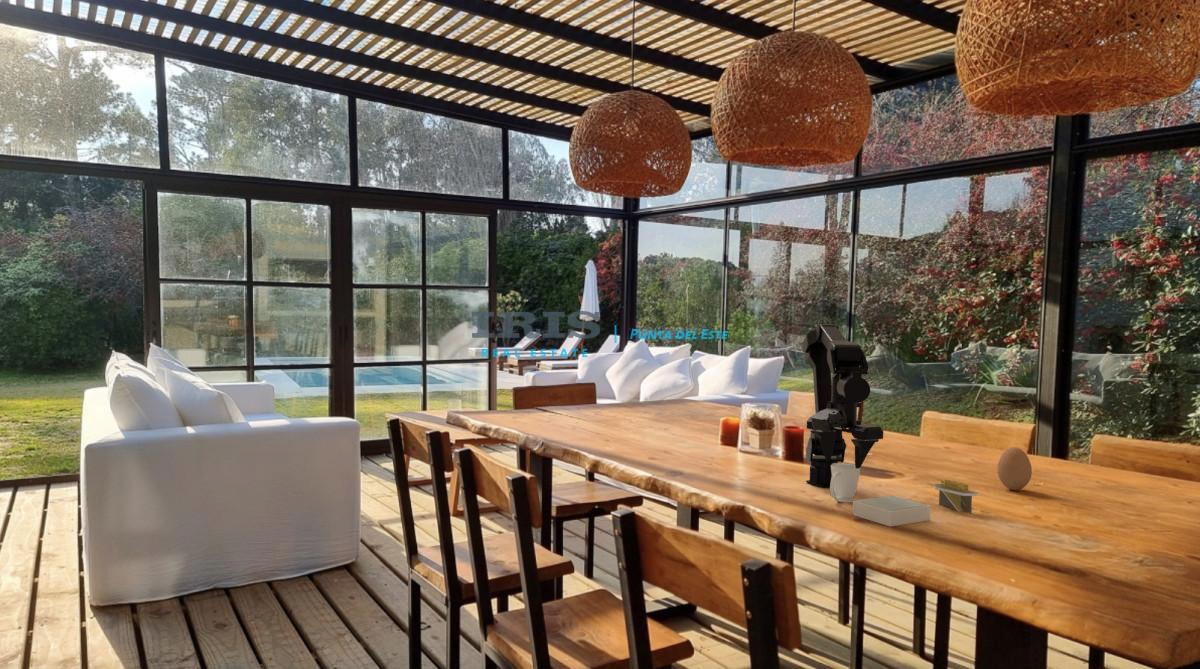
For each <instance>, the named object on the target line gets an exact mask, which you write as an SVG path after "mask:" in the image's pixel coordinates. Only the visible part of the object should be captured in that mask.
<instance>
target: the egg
mask: <svg viewBox="0 0 1200 669" xmlns="http://www.w3.org/2000/svg"><path fill="white" fill-rule="evenodd" d="M996 469H997V476H998V478H999V481H1000V482H1001V483H1002V485H1003V486H1004V487H1005V488H1007V489H1009V490H1011V491H1020V490H1022V489H1024V488H1025V487H1027V485H1028V484H1029V483H1030V482H1031V480H1032V475H1033V474H1032V473H1033V472H1032V471H1033V470H1032V463H1031V461H1030V459H1029V456H1028V455H1027V453H1026V452H1025V451H1024V450H1023V449H1021V448H1019V447H1016V446H1013V447H1009V448H1008V449H1005V450H1004V451H1003V453H1001V456H1000V458H999V459H998V462H997V468H996Z"/></svg>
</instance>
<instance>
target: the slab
mask: <svg viewBox="0 0 1200 669" xmlns="http://www.w3.org/2000/svg"><path fill="white" fill-rule="evenodd" d="M852 516H855V517H859V518H862V519H865V520H868V521H871V522H874V523H878V524H881V525H883V526H887V527H894V526H901V525H907V524H914V523H920V522H927V521H930V520H931V505H929V504H924V503H921V502H917V501H913V500H910V499H906V498H903V497H899V496H895V495H887V496H878V497H871V498H864V499H857V500H854V501H853V502H852Z"/></svg>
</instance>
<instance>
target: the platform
mask: <svg viewBox="0 0 1200 669" xmlns="http://www.w3.org/2000/svg"><path fill="white" fill-rule="evenodd" d="M940 482H941V483H935V484H934V489H935V490H937V491H939V493H938V494H939V496H938V498H939V499H938V506H942V507H945V508H950V509H954V510H956V511H957V512H959V513H962V512H966V513H969V514H972V508H973V507H972V506H973V505H972V503H973V502H972V501H973V499H972V498H973V497H975V496H979V492H978V491H973V490H969V484H966V483H963V482H959V481H958V482H957V481H953V480H949V479H944V480H940Z"/></svg>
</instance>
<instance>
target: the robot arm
mask: <svg viewBox="0 0 1200 669" xmlns="http://www.w3.org/2000/svg"><path fill="white" fill-rule="evenodd" d="M839 329H840V328H839V326H838V325H836V324H832V323H831V324H830V323H829V324H828V323H827V324H826V323H821V324H818V325H816V327H815V329H813V330H811V331H810V332H807V333H806V335H805V337H804V340H803V343H802V351H803V353H804V354H805V361H806V363H807V364H808V365H809V366H810V368H811V369H812V376H813V394H814V395H813V396H814V409H815V410H814V411H815V413H814V414H812V415H811V416H809V417H808V418H807V420H806V429H807V430H810V431H809V432H810V437H809V439H808V442H807V445H806V448H805V457H806V460H808V461H809V462H810V466H809V479H808V480H807V479H806V481H805V482H806V483H807V484H811V485H814V486H817V487H821V488H828V487H829V488H830V483H831V478H832V472H831V465H832V464H835V463H844V461H845V453H846V449H847V443H846V440H845V438H843V433H848V434H851V436H852V437H853V438H852V439H850V441H851V442H852V444H853V445H854V465H855V468H856V469H859V468H860V467H861V468H862V465H863V464H864V461H865V460H866V458H867V456H868V454H869V453H870V451H871V450H872V448H873V446H874V445H875V443H879V440H883V439H884V429H883V428H882V427H881V425H874V424H870V423H869V424H861V423H862V422H861V421H862V420H859V419H857V418H858V408H861V407H862V402H864V401H866V400H867V399H868V398H869V396H870V394H871V386H870V384H869V382H868V381H867V380H866V379H865V378H863V377H862V375H865V376H866V375H868V374H869V372H868V371H869V368H870V366H869V364H868V358H867V356H866V354H865V351H864V349H862V346H861V345H860V344H859V343H857V342H853V341H850V340H849V341H848V340H847V339H846V337H845V336H844V335H843V333H842V332H841V331H840V330H839ZM861 468H860V469H861Z"/></svg>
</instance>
